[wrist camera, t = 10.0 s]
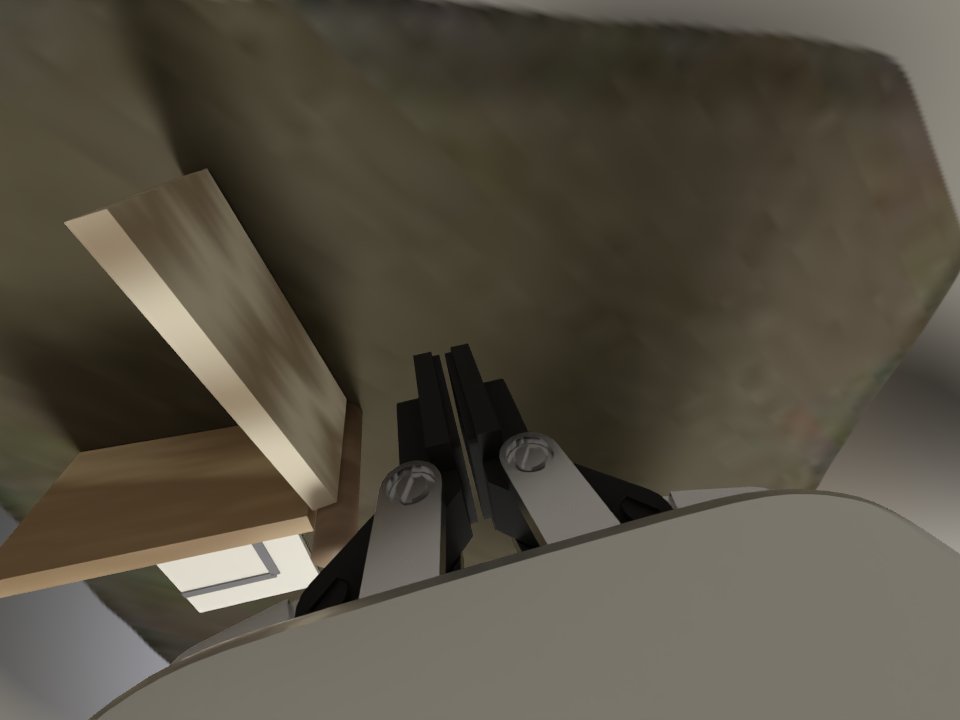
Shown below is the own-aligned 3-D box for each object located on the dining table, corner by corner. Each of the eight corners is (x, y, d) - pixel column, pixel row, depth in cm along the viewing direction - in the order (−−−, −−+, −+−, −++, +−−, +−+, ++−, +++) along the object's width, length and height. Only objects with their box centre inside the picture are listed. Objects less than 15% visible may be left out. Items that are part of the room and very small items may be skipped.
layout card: (323, 579, 35) (322, 584, 35) (201, 607, 34) (199, 614, 33) (280, 492, 29) (279, 497, 28) (126, 522, 27) (122, 528, 27)
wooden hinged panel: (365, 423, 27) (361, 562, 19) (95, 470, 25) (-45, 655, 16) (359, 400, 26) (351, 537, 18) (75, 447, 23) (-84, 633, 15)
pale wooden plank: (346, 399, 26) (337, 502, 19) (328, 405, 25) (312, 510, 19) (206, 168, 18) (106, 208, 11) (180, 176, 17) (63, 222, 11)
